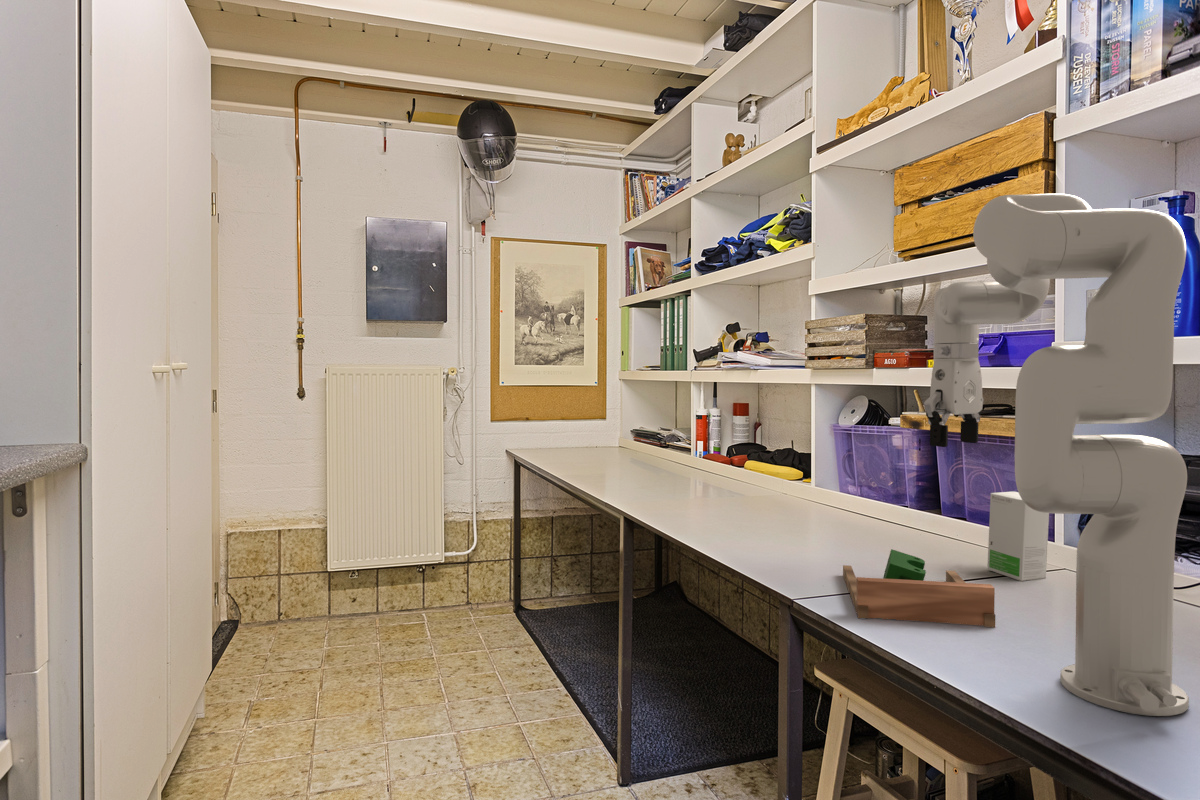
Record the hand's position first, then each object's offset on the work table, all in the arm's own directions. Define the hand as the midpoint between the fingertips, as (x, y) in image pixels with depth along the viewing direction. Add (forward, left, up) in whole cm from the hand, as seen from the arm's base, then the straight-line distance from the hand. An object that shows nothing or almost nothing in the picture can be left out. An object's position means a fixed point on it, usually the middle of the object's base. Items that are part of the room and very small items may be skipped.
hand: (954, 444), depth 133 cm
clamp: (-7, +10, -26) cm, 29 cm away
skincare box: (+7, -13, -26) cm, 30 cm away
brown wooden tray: (-13, +10, -26) cm, 31 cm away
